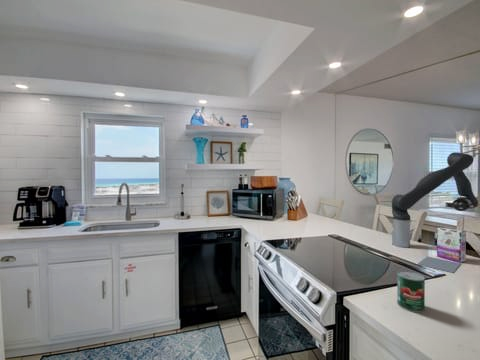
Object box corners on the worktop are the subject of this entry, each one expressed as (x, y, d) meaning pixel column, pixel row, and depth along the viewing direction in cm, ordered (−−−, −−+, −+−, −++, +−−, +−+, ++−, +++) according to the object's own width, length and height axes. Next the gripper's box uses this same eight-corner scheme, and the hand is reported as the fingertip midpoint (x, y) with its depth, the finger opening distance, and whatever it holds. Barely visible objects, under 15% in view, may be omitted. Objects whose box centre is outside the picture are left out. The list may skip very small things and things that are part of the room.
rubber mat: (417, 264, 123) (417, 263, 123) (427, 256, 134) (427, 256, 134) (453, 273, 112) (453, 272, 112) (460, 264, 123) (460, 263, 123)
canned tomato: (412, 300, 88) (413, 270, 87) (430, 312, 80) (431, 279, 79) (391, 300, 87) (392, 270, 87) (407, 312, 79) (408, 280, 79)
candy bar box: (466, 261, 126) (466, 231, 126) (460, 263, 124) (460, 231, 124) (442, 255, 137) (442, 226, 136) (436, 256, 135) (436, 227, 134)
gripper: (448, 197, 153) (441, 199, 142) (476, 199, 142) (471, 201, 131) (447, 209, 153) (440, 211, 142) (476, 211, 142) (471, 214, 132)
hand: (455, 206), depth 137 cm, fingers closed
